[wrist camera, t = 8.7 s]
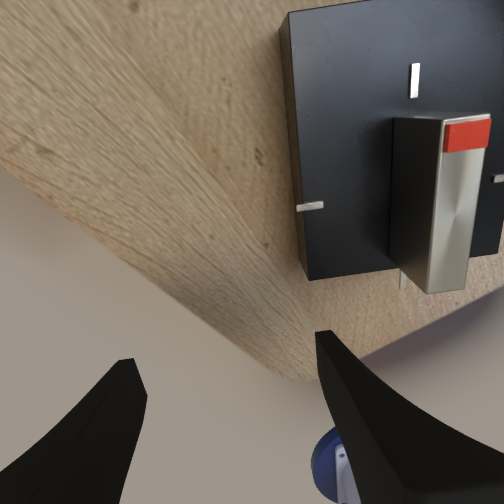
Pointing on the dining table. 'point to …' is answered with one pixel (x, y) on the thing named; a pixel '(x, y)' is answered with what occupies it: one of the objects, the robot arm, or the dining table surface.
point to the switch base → (383, 116)
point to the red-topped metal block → (436, 195)
